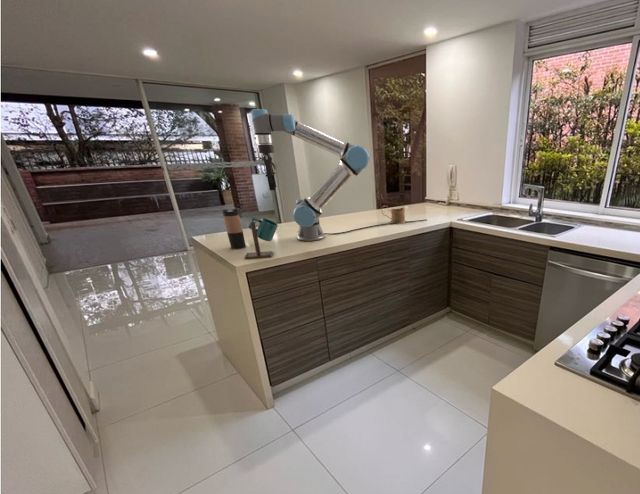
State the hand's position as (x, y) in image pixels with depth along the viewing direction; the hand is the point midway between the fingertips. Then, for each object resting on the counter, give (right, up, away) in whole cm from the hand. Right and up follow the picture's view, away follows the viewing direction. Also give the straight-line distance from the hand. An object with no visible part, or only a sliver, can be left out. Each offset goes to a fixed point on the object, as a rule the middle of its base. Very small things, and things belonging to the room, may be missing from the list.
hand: (273, 188), depth 178 cm
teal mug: (-5, -26, -6) cm, 27 cm away
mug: (+59, -2, +70) cm, 92 cm away
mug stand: (-5, -35, -4) cm, 36 cm away
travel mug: (-23, -30, +9) cm, 39 cm away
